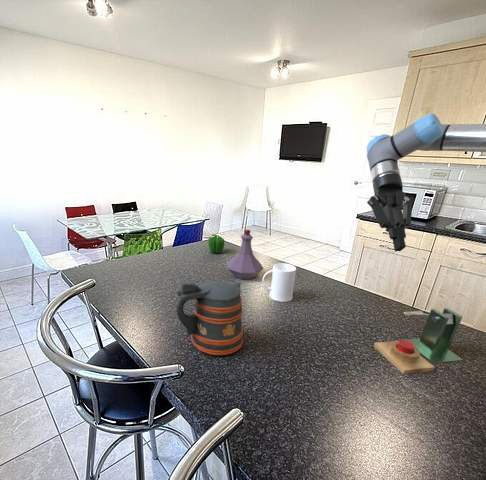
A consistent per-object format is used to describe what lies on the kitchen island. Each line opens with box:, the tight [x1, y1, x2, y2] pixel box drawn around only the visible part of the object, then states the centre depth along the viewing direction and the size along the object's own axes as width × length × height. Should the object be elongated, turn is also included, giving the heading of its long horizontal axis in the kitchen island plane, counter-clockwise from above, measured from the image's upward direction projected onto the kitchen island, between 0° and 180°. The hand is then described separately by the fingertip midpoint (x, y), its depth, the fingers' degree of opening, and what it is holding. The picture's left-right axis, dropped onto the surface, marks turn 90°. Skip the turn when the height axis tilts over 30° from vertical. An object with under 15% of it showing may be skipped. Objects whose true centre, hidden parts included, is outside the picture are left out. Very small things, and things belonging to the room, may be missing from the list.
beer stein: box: [176, 280, 244, 357], centre depth 79 cm, size 19×15×20 cm
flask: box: [226, 229, 265, 280], centre depth 123 cm, size 16×16×20 cm
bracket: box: [404, 307, 464, 364], centre depth 78 cm, size 10×9×13 cm
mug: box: [261, 262, 297, 303], centre depth 107 cm, size 12×8×12 cm
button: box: [397, 339, 415, 354], centre depth 76 cm, size 4×4×2 cm
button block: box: [373, 340, 436, 375], centre depth 77 cm, size 8×11×4 cm
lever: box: [401, 310, 453, 324], centre depth 81 cm, size 12×6×2 cm, turn 9°
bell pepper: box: [207, 233, 225, 254], centre depth 152 cm, size 8×8×10 cm
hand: (400, 248), depth 81 cm, fingers closed
